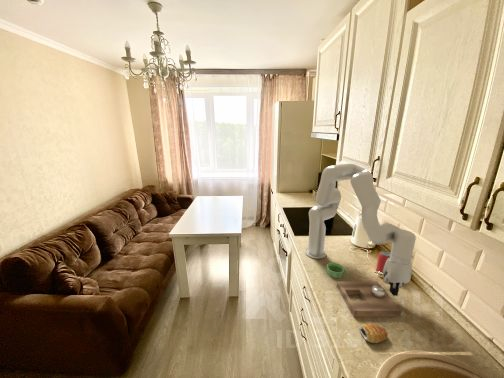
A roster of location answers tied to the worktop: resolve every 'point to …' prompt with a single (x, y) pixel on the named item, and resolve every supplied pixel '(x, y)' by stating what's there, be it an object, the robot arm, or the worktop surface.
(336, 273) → the ramekin
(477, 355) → the worktop surface
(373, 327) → the pastry
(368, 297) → the wooden board with recess
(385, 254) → the beer can
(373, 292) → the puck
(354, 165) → the robot arm
